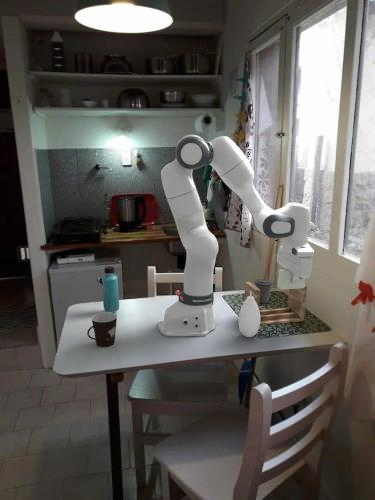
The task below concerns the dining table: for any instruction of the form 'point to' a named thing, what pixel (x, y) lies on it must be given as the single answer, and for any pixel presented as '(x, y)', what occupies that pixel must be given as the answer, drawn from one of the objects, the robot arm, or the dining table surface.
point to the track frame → (284, 314)
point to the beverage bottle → (110, 290)
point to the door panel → (289, 280)
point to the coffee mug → (104, 328)
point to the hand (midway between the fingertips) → (291, 281)
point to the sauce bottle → (249, 317)
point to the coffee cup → (264, 289)
